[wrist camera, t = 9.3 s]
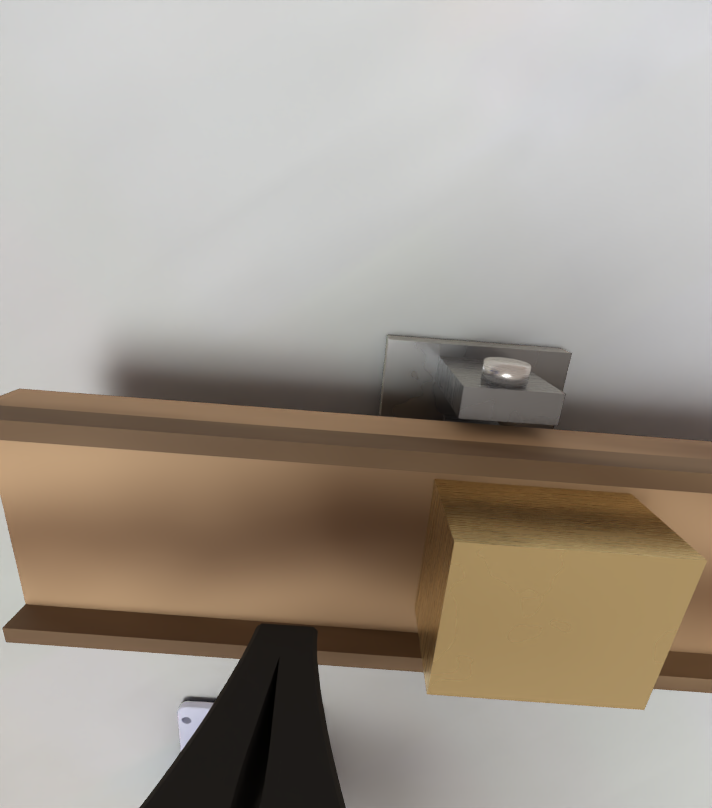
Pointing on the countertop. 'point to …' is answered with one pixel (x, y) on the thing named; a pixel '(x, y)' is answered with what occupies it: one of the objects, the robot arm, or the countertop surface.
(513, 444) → the beam
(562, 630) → the block
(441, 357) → the fulcrum
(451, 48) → the countertop surface
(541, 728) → the countertop surface
